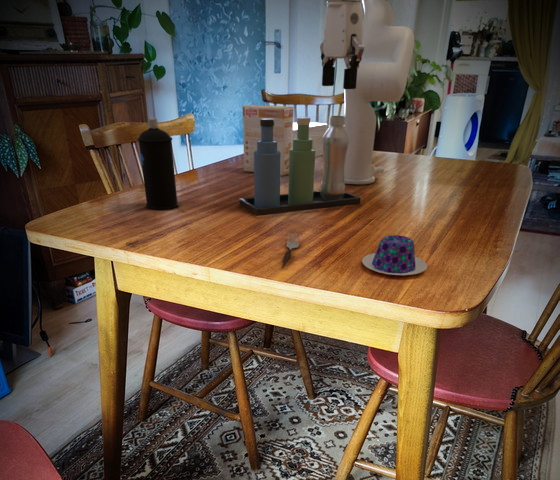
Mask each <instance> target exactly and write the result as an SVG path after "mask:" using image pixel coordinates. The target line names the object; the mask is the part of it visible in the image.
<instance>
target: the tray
mask: <svg viewBox="0 0 560 480" xmlns="http://www.w3.org/2000/svg"><path fill="white" fill-rule="evenodd" d="M238 200H239V206H240V207H242V208H244V209H245V210H246V211H248V212H249V213H251V214H253V215H254V216H256V217H260V216H261V217H262V216H268V215H278V214H286V213H294V212H303V211H311V210H319V209H320V210H321V209H329V208H338V207H345V206H346V207H347V206H353V205H354V206H355V205H361V197H359V196H357V195H355V194H352V193H350V192H348V191H345V194H344V197H343V199H339V200H329V201H328V200H324V199H322V197H321V196H320V190H313V202H311V203H302V204H293V205H288V193H282V194H281V193H280V206H275V207H266V208H257V207H255V206H254V196H253V197H241V198H239V199H238Z"/></svg>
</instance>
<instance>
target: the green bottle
mask: <svg viewBox="0 0 560 480" xmlns="http://www.w3.org/2000/svg"><path fill="white" fill-rule="evenodd" d="M310 122H311V117H309V116H298V117H296V123H297V124H298V125H297V138H294V139H293V148H292V149H290V150H289V174H288V188H287V189H288V193H287V194H288V205H293V204H302V203H311V202H313V191H315V190H314V188H315V187H314V185H315V171H316V170H315V167H316V157H315V149H312V144H313V139H311V138H309V125H310Z"/></svg>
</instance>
